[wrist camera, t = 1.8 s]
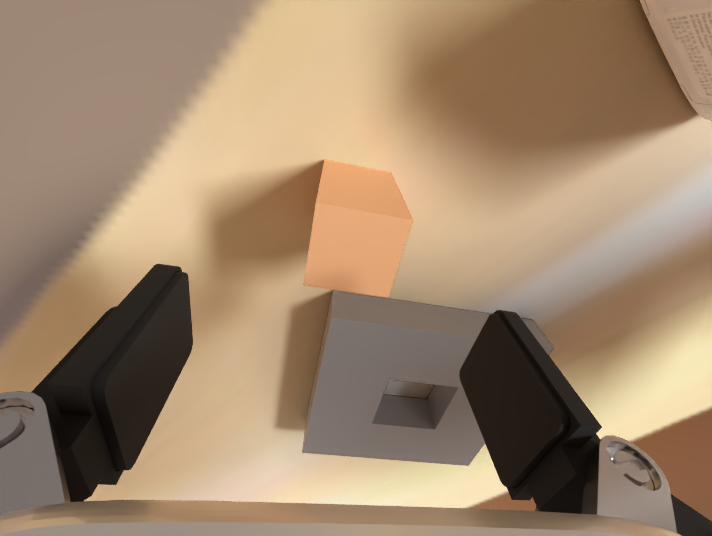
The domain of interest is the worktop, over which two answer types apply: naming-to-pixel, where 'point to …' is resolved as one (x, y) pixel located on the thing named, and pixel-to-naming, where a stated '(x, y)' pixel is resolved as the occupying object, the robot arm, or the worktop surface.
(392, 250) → the orange rectangular block
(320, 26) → the worktop surface
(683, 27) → the photo printer
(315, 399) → the grey square hole board
